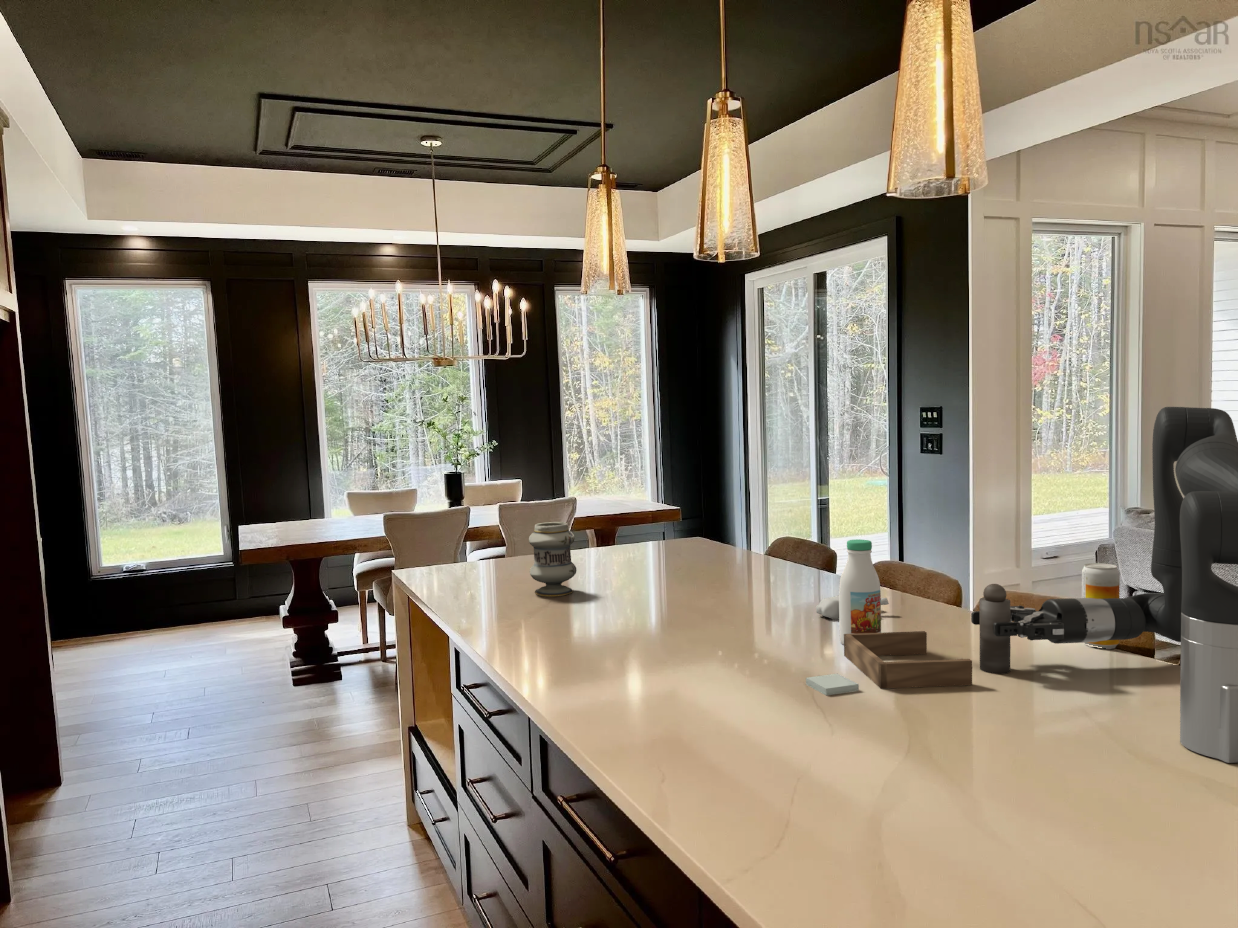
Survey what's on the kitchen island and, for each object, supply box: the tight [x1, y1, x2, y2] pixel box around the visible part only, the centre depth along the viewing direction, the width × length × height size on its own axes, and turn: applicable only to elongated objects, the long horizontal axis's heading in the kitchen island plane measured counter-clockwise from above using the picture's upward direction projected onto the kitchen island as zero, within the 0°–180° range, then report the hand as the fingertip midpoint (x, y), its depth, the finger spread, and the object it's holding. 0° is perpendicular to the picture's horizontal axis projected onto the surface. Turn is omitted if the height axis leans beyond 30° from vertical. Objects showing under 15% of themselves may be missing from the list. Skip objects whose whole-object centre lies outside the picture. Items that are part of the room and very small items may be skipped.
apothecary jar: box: [528, 521, 577, 597], centre depth 217 cm, size 12×12×18 cm
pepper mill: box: [979, 583, 1011, 675], centre depth 143 cm, size 5×5×15 cm
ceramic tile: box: [805, 673, 860, 696], centre depth 136 cm, size 6×6×2 cm
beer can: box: [1081, 562, 1121, 650], centre depth 156 cm, size 6×6×15 cm
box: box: [843, 630, 973, 689], centre depth 145 cm, size 19×15×4 cm
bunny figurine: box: [815, 594, 890, 620], centre depth 185 cm, size 10×5×15 cm
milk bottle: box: [838, 538, 882, 646], centre depth 161 cm, size 8×8×20 cm
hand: (983, 623), depth 143 cm, fingers open, 7 cm apart
